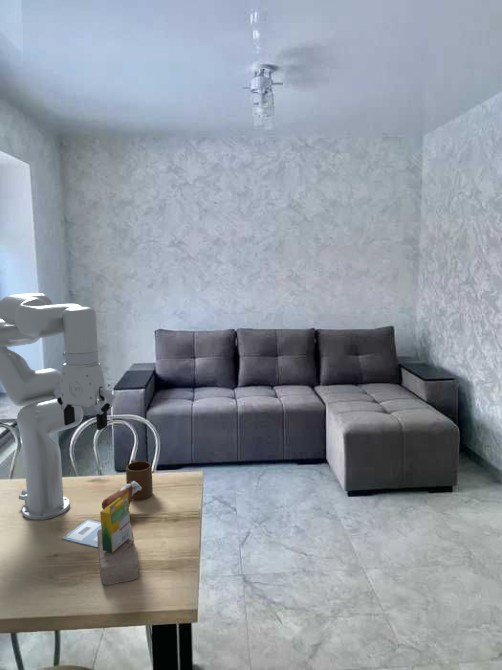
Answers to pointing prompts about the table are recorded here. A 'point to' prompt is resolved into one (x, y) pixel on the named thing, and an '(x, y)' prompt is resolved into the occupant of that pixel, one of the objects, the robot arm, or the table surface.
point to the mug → (140, 478)
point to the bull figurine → (122, 493)
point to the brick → (118, 561)
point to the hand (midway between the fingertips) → (85, 425)
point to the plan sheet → (85, 533)
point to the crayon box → (115, 524)
